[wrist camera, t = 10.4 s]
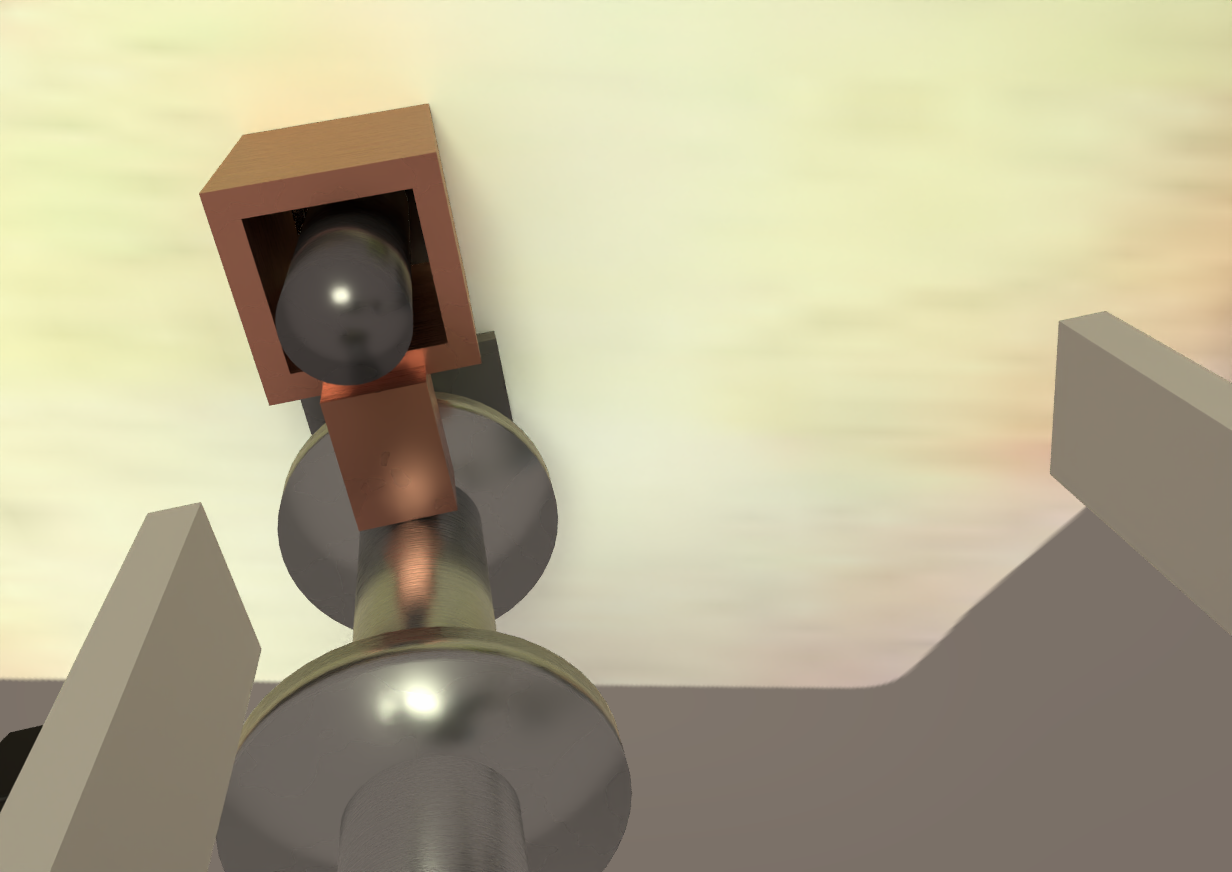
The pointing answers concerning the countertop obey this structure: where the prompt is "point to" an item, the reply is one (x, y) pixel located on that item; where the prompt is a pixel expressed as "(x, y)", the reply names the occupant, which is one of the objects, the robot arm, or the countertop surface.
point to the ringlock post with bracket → (406, 567)
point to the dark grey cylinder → (349, 290)
